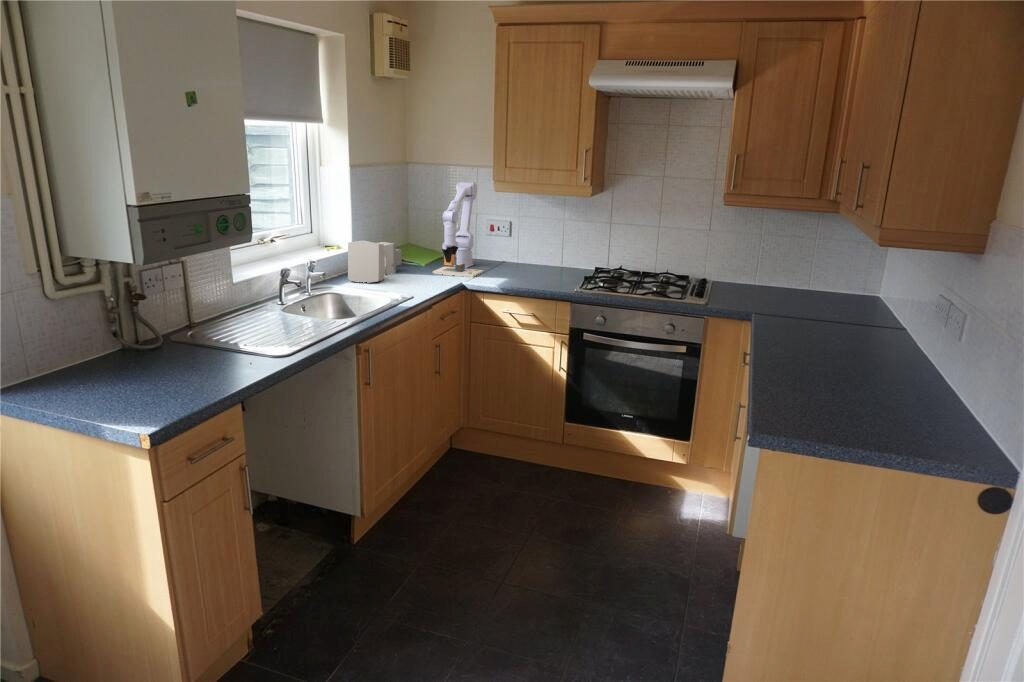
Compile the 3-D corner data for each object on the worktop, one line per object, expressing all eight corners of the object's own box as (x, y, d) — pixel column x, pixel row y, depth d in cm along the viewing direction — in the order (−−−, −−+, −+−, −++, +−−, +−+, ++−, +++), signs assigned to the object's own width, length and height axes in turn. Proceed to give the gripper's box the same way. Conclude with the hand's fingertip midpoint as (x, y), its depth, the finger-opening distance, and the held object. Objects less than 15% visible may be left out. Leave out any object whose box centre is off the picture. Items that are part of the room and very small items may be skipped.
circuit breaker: (404, 271, 349) (403, 241, 344) (385, 275, 337) (384, 245, 333) (392, 269, 352) (392, 240, 348) (373, 273, 341) (372, 243, 336)
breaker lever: (459, 269, 349) (459, 262, 348) (464, 269, 348) (464, 263, 347) (455, 270, 345) (455, 264, 344) (460, 271, 344) (460, 264, 343)
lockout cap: (447, 263, 350) (447, 253, 349) (454, 264, 349) (454, 254, 347) (444, 264, 346) (444, 255, 345) (451, 265, 345) (451, 255, 344)
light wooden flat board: (444, 268, 357) (444, 265, 356) (483, 272, 350) (483, 269, 350) (432, 273, 344) (432, 270, 344) (472, 277, 338) (472, 274, 337)
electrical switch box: (387, 282, 333) (387, 240, 330) (378, 284, 318) (378, 240, 315) (357, 280, 334) (358, 239, 331) (347, 282, 319) (348, 239, 316)
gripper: (448, 232, 351) (448, 258, 355) (436, 236, 338) (436, 263, 342) (461, 233, 349) (461, 259, 353) (449, 237, 335) (449, 264, 339)
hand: (450, 261), depth 347 cm, fingers closed on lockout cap, 4 cm apart
